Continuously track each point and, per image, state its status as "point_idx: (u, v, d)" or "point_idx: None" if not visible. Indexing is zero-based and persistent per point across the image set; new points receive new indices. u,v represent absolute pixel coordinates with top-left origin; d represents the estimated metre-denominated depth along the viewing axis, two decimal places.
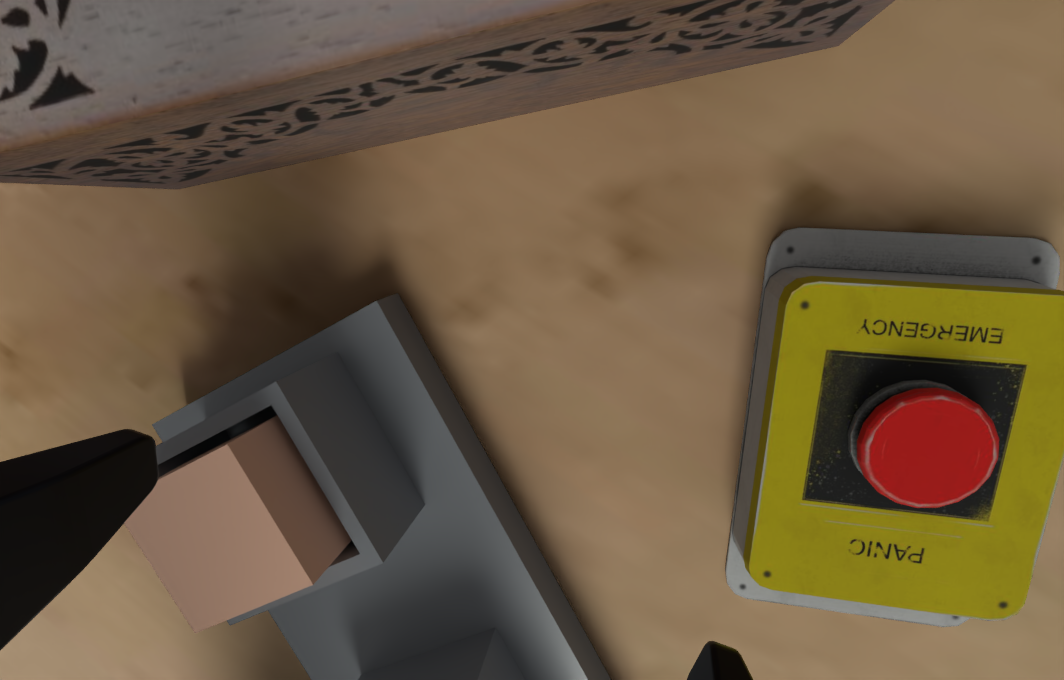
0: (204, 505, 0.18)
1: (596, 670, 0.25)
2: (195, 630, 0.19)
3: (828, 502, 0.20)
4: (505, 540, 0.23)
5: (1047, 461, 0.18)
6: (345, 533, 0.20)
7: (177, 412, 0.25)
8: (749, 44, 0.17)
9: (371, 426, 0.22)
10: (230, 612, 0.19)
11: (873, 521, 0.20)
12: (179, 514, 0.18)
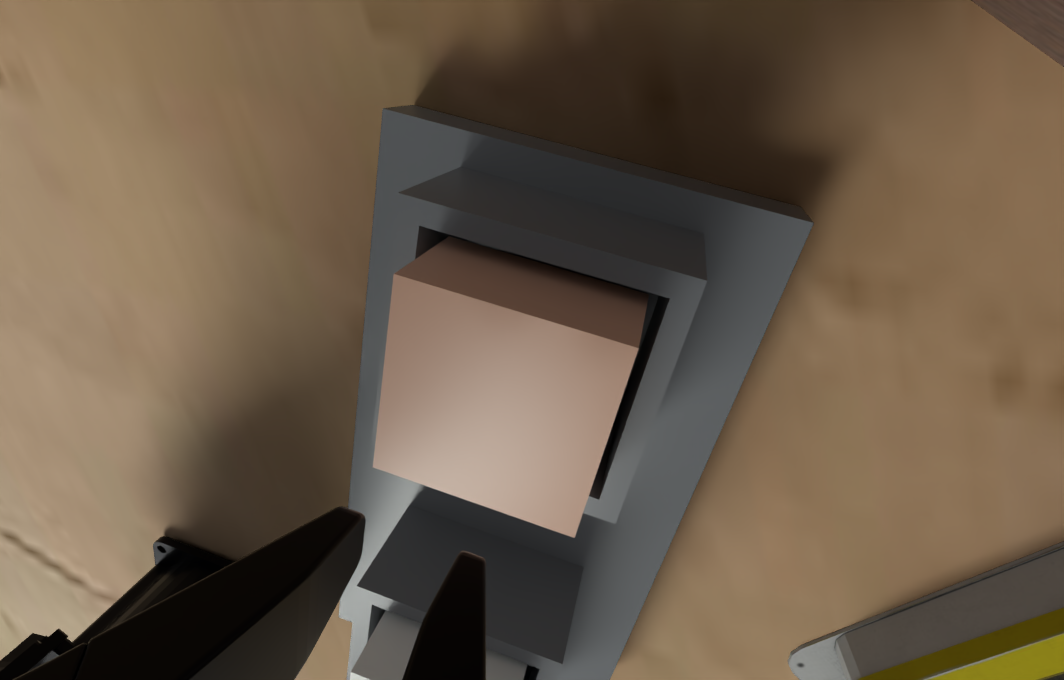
0: (527, 377, 0.12)
1: None
2: (376, 466, 0.14)
3: None
4: (674, 522, 0.20)
5: None
6: None
7: (431, 124, 0.16)
8: None
9: None
10: (441, 484, 0.14)
11: None
12: (481, 359, 0.12)
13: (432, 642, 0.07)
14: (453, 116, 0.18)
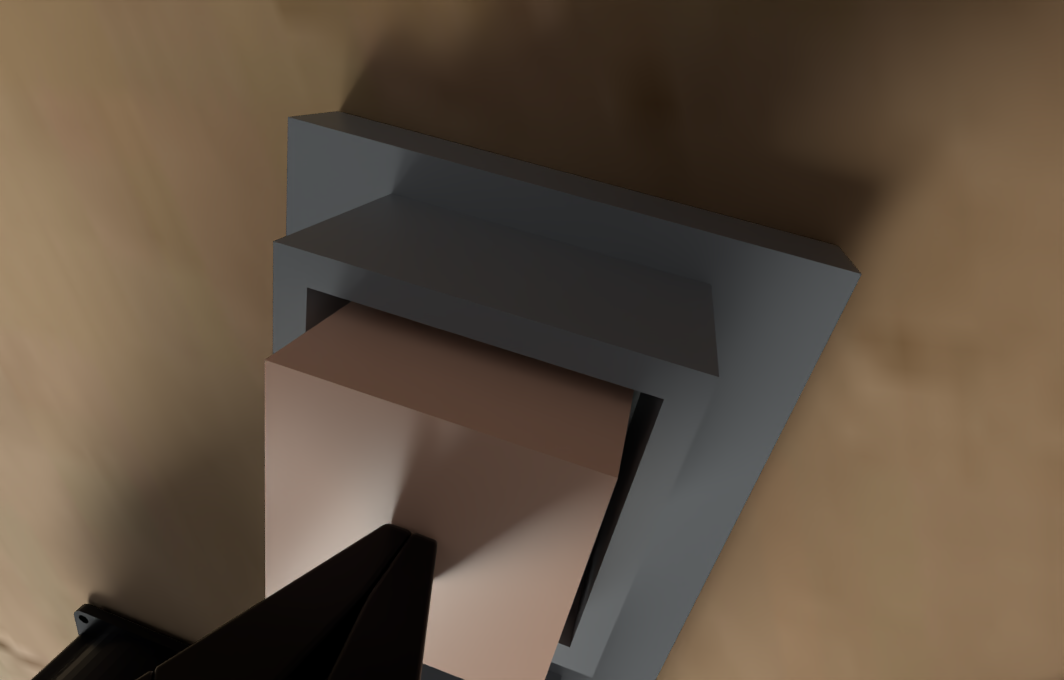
0: (460, 507, 0.08)
1: None
2: None
3: None
4: (671, 632, 0.16)
5: None
6: None
7: (351, 137, 0.12)
8: None
9: None
10: None
11: None
12: (395, 479, 0.08)
13: (372, 619, 0.07)
14: (388, 126, 0.14)
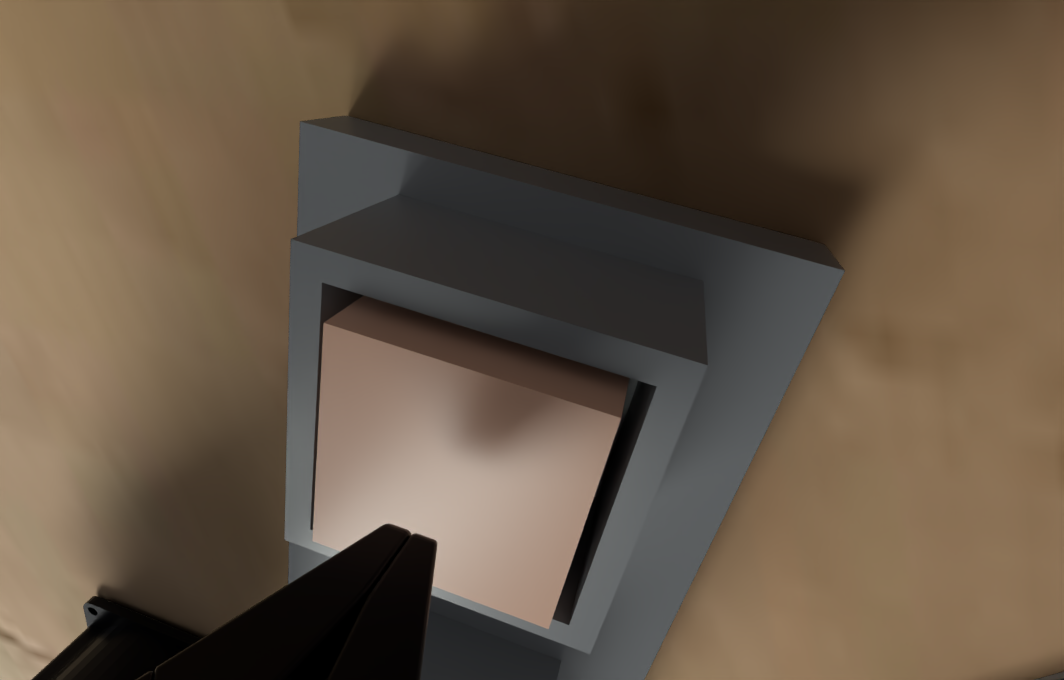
0: (487, 447, 0.10)
1: None
2: (316, 540, 0.12)
3: None
4: (667, 617, 0.16)
5: None
6: None
7: (360, 141, 0.13)
8: None
9: None
10: None
11: None
12: (432, 425, 0.10)
13: (372, 619, 0.07)
14: (395, 130, 0.14)
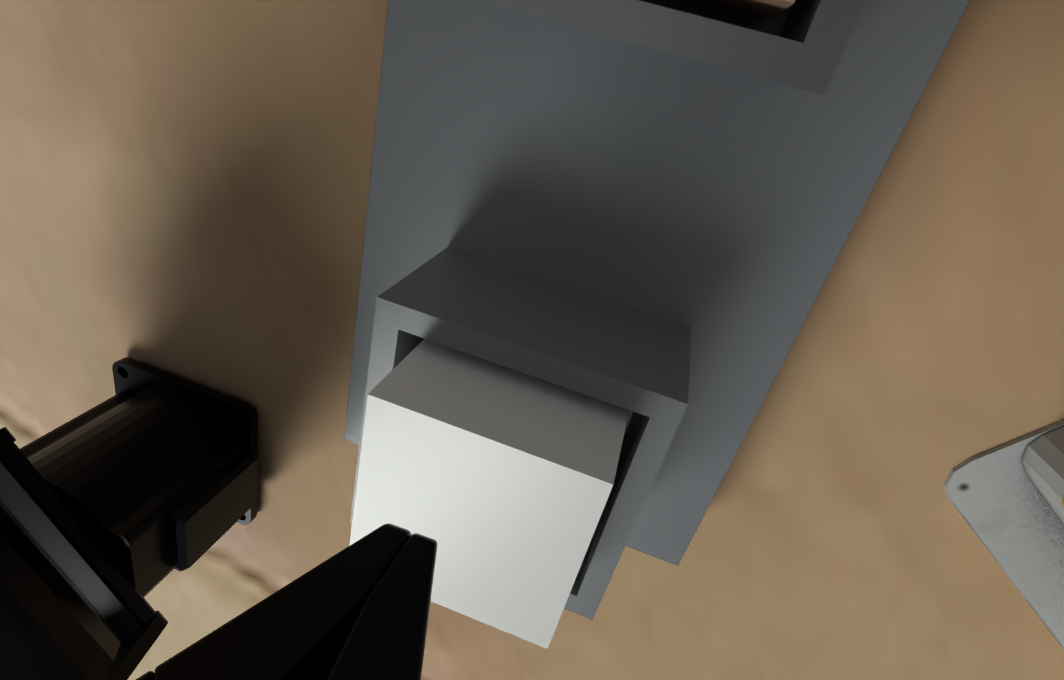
0: None
1: None
2: None
3: None
4: (840, 234, 0.14)
5: None
6: None
7: None
8: None
9: None
10: None
11: None
12: None
13: (372, 619, 0.07)
14: None
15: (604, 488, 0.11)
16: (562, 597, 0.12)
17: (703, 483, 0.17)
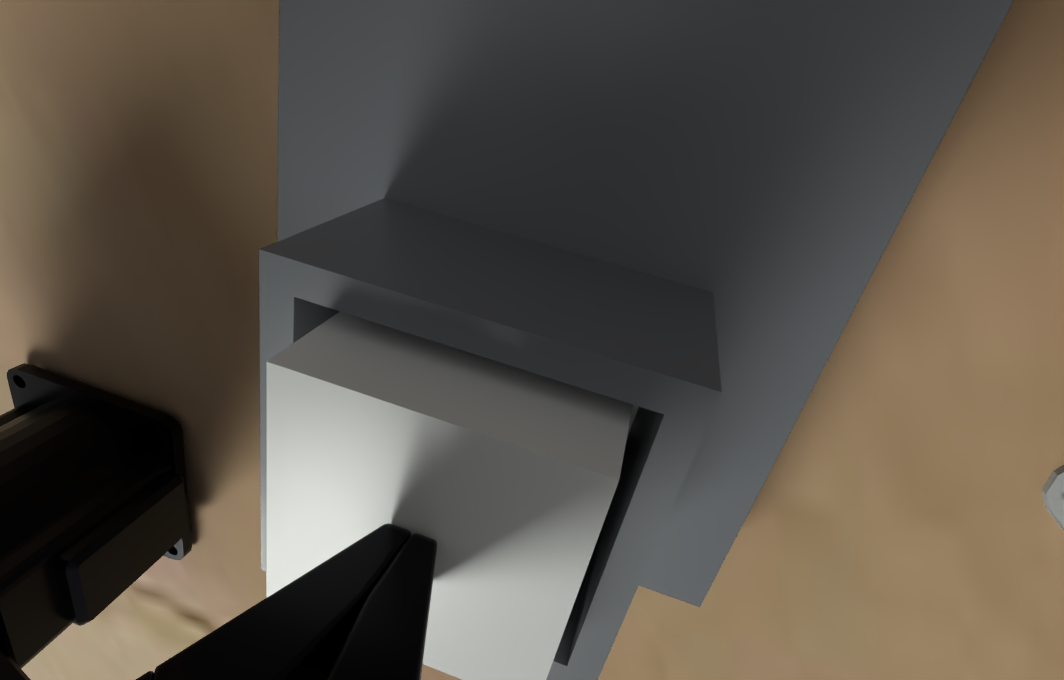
0: None
1: None
2: None
3: None
4: (924, 148, 0.10)
5: None
6: None
7: None
8: None
9: None
10: None
11: None
12: None
13: (372, 619, 0.07)
14: None
15: (606, 486, 0.07)
16: (552, 640, 0.09)
17: (731, 501, 0.13)
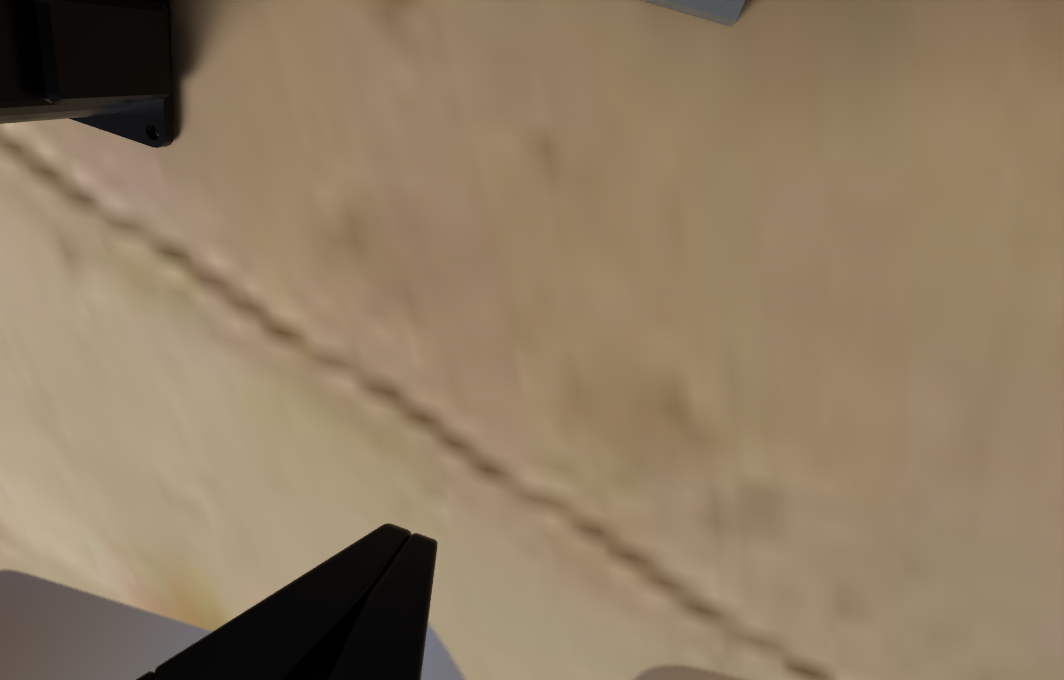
0: None
1: None
2: None
3: None
4: None
5: None
6: None
7: None
8: None
9: None
10: None
11: None
12: None
13: (372, 619, 0.07)
14: None
15: None
16: None
17: None
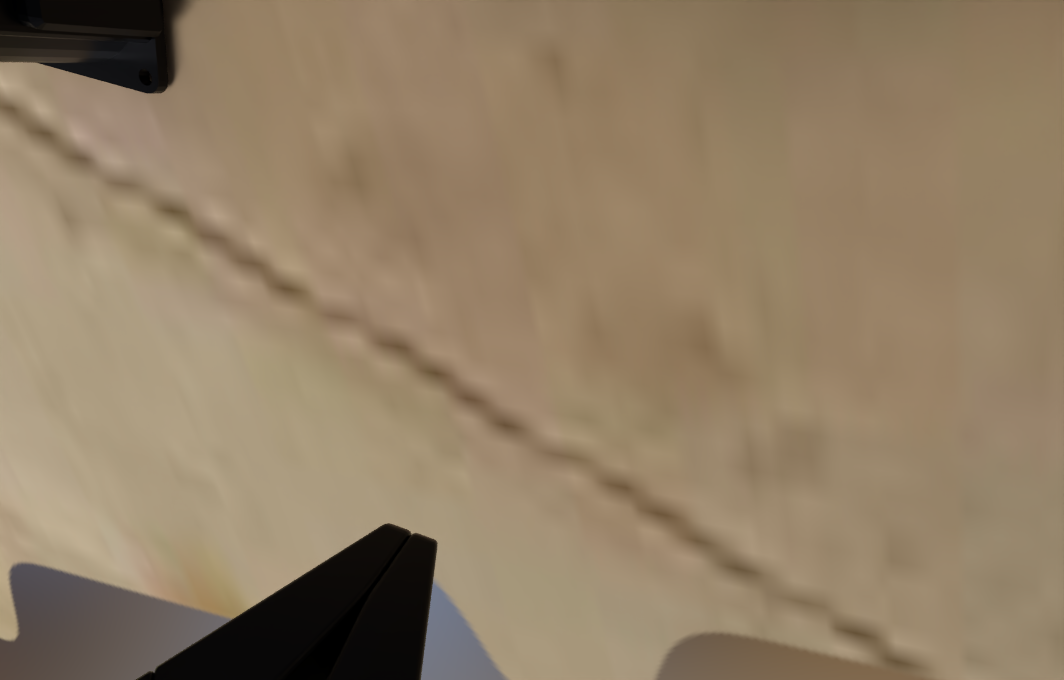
0: None
1: None
2: None
3: None
4: None
5: None
6: None
7: None
8: None
9: None
10: None
11: None
12: None
13: (372, 619, 0.07)
14: None
15: None
16: None
17: None
